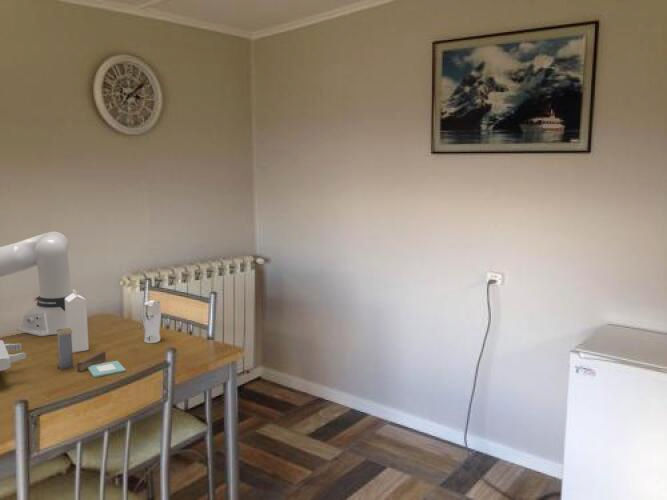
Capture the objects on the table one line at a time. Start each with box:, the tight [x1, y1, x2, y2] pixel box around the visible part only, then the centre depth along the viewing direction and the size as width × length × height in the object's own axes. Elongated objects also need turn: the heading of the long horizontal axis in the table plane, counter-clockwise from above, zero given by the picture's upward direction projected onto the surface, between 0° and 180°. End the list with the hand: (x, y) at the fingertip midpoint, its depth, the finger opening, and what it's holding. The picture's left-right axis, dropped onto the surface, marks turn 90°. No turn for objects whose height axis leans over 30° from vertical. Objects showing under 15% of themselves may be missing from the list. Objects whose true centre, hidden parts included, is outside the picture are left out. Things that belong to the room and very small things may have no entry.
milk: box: [65, 288, 89, 354], centre depth 210 cm, size 6×6×22 cm
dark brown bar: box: [76, 350, 107, 373], centre depth 196 cm, size 2×12×3 cm, turn 165°
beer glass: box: [141, 300, 162, 344], centre depth 222 cm, size 7×7×15 cm
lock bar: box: [56, 328, 74, 370], centre depth 193 cm, size 4×4×13 cm
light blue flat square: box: [87, 360, 127, 378], centre depth 193 cm, size 10×10×1 cm
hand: (23, 350), depth 186 cm, fingers open, 8 cm apart
